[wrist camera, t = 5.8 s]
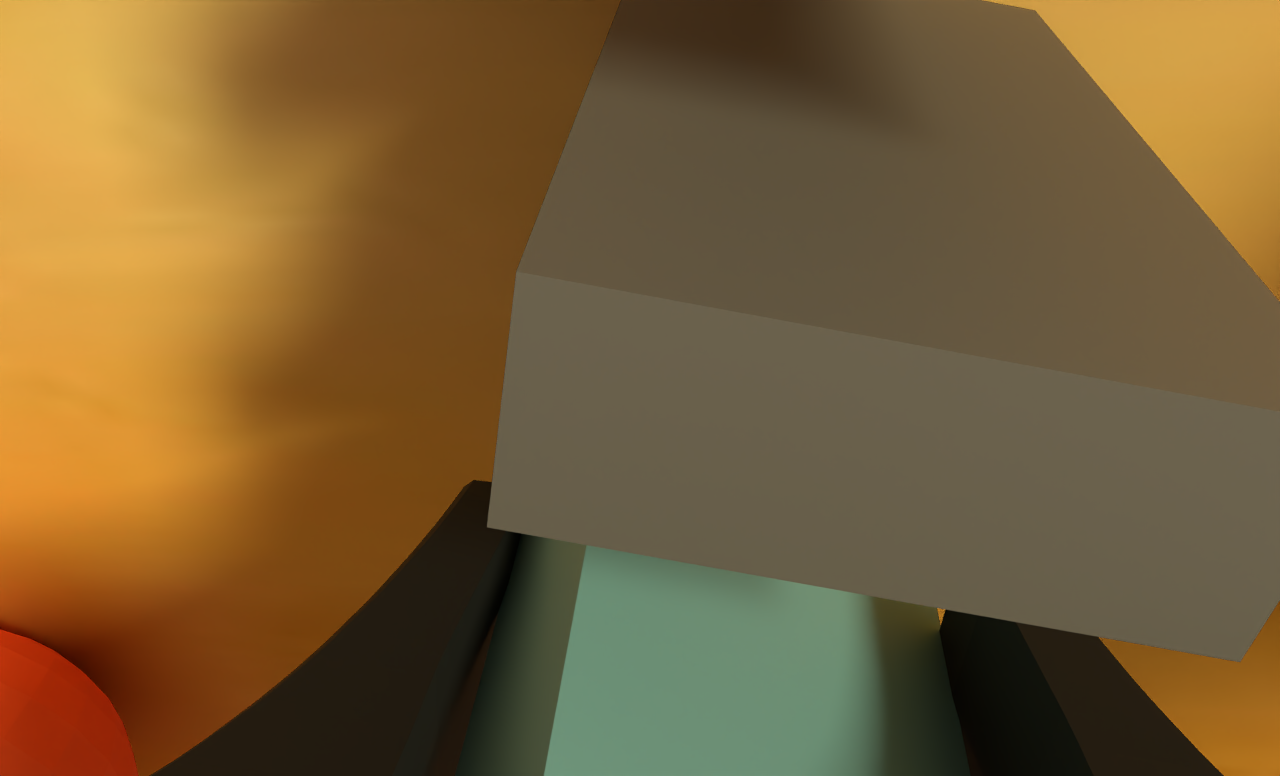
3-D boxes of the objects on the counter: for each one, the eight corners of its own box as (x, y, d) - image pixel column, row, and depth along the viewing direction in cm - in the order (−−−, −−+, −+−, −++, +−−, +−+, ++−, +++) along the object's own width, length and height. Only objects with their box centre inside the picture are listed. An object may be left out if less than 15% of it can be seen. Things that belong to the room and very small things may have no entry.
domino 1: (645, -64, 14) (516, 272, 6) (1035, 9, 14) (1387, 432, 6) (622, 81, 15) (486, 526, 7) (986, 150, 15) (1239, 661, 7)
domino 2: (632, 296, 15) (509, 966, 7) (912, 482, 16) (1059, 1224, 8) (557, 388, 16) (375, 1074, 8) (827, 558, 17) (893, 1292, 9)
